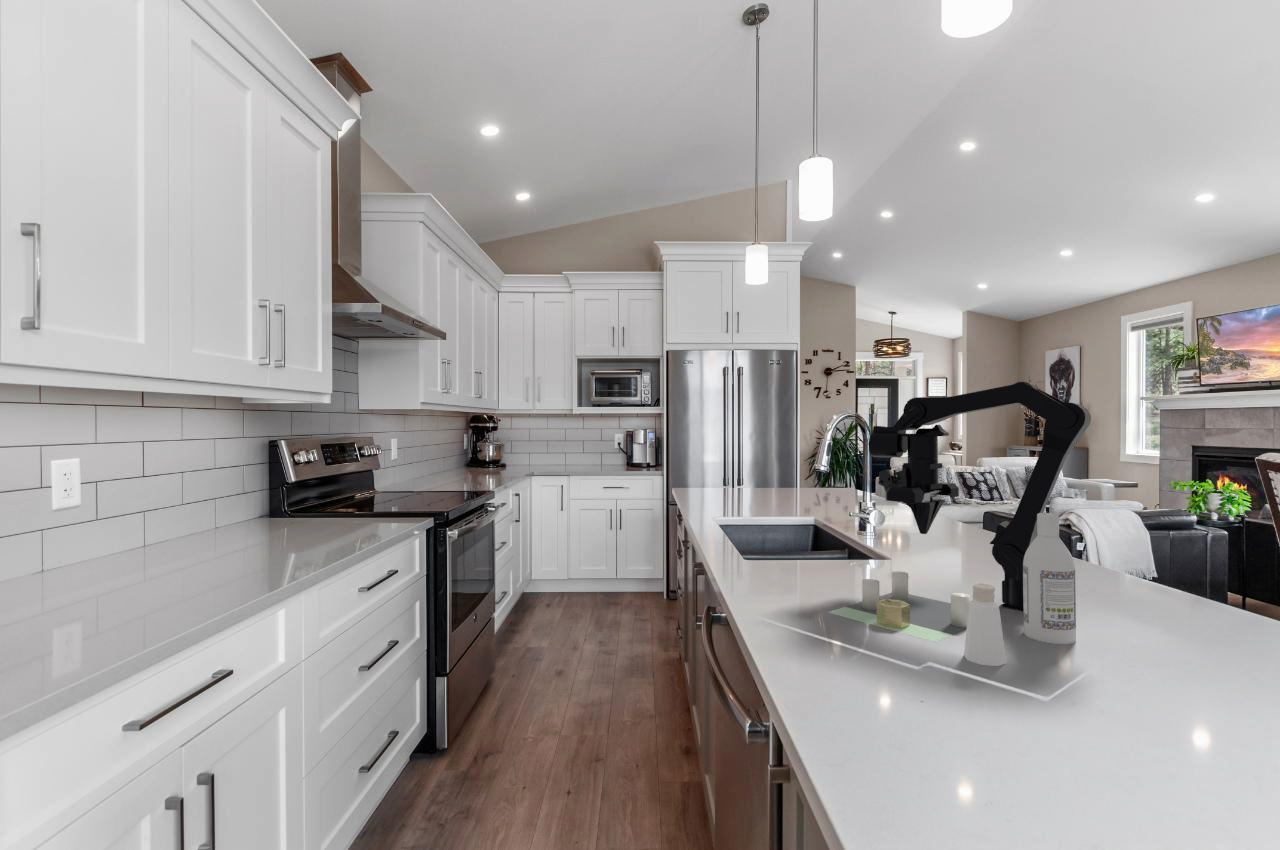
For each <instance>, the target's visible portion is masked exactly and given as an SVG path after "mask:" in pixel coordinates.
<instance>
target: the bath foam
mask: <svg viewBox="0 0 1280 850" xmlns="http://www.w3.org/2000/svg"><path fill="white" fill-rule="evenodd" d="M1037 534H1038V535H1037V537H1036V538H1035V539H1034V541H1033V542H1032V543H1031V544H1030V546H1029V547H1028V549H1027V551H1026V553H1025V556H1024V560H1023V608H1024V611H1023V633H1024V635H1025V636H1026V637H1028V638H1029V639H1032V640H1035V641H1038V642H1042V643H1047V644H1055V645H1071V644H1074V643H1075V642H1076V641H1077V607H1076V606H1077V603H1076V602H1077V601H1076V597H1077V596H1076V565H1075V561H1074V558H1073V556H1072V555H1073V554H1071V552H1070V550H1069V549H1068V547H1067V546H1066V545H1065V543H1064V542H1063V540H1061V539H1062V538H1061V537H1060V514H1057V513H1053V512H1052V513H1050V512H1043V513H1038V514H1037ZM1075 644H1076V643H1075Z"/></svg>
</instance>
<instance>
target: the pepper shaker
mask: <svg viewBox="0 0 1280 850" xmlns="http://www.w3.org/2000/svg"><path fill="white" fill-rule="evenodd" d="M973 590H974V593H973V592H972V595H973V594H974V600H973V599H972V600H971V601H970V603H969V611H968V620H967V629H965V630H966V632H965V640H964V651H963V653H964V654H963V656H964V658H966V660H967V661H968V662H972V663H974V664H978V665H981V666H991V667H993V666H994V667H1000V666H1003V665H1006V664H1007V658H1006V651H1005V643H1004V636H1003V635H1004V634H1003V628H1002V627H1003V626H1002V619H1001V611H1000V607H999V606H1000V605H999V604H997V603H996V602H995V591H996V588H995V587H994V586H993V585H991V584H987V583H975V584H973V585H972V591H973Z"/></svg>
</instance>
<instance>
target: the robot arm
mask: <svg viewBox="0 0 1280 850" xmlns="http://www.w3.org/2000/svg"><path fill="white" fill-rule="evenodd" d="M1014 405H1021V406H1023V407H1025V408H1027V409H1028V410H1029V411H1031V412H1033V414H1035V415H1037V416H1039V417H1041V418H1043V420H1044V421H1045V422H1044V427H1043V432H1042V433H1043V434H1042V447H1041V449H1040V452H1039V455H1038V458H1037V459H1036V463H1035V465H1034V468H1033V470H1032V472H1031V474H1030V476H1029V480H1028V481H1027V484H1026V487H1025V488H1024V492H1023V494H1022V496H1021V499H1020V501H1019V504H1018V506H1017V508H1016V511H1015V513H1014V516H1013V518H1011V520H1010V521H1008V520H1005V521H1003V522H1001V523H1000V522H999V524H997V526H996V529H995V535H994V537H993V539H992V540H991V541H990V542H989V544H990V545H993V546H992V549H991V555H992V556H993V559H994V560H995V562H996V563H997V564H998V565H1000V566H1001V567H1002V570H1003V572H1004V580H1001V602H1002V604H1000V607H1002V608H1005V609H1011V610H1015V611H1021V612H1024V608H1023V560H1024V556H1025V553H1026V551H1027V549H1028V547H1029V546H1030V544H1031V543H1032V542H1033V541H1034V539H1035V538H1036V537H1037V535H1038V534H1037V514H1038V513H1045V512H1044V511H1045V509H1046V507H1047V504H1048V502H1049V499H1050V497H1051V495H1052V493H1053V490H1054V488H1055V485H1056V483H1057V480H1058V479H1059V477H1060V474H1061V471H1062V469H1063V466H1064V464H1065V461H1066V459H1067V458H1068V455H1069V454H1070V452H1071V451H1072V450H1073V448H1075V446H1076V445H1077V443H1078V442H1079V441H1080V439H1081V438H1082V436H1083V435H1084V434H1085V433H1086V431H1087V429H1088V428H1089V426H1090V424H1091V422H1092V421H1091V420H1092V416H1091V413H1090V411H1089V410H1088V409H1087V407H1085V406H1084V405H1082V404H1079V403H1076V402H1069V401H1063V400H1061V399H1059V398H1057V397H1055V396H1053V395H1052V394H1049V393H1047V392H1045V391H1044V390H1041V389H1040V388H1038V387H1037V386H1036V385H1035V384H1033V383H1030V382H1027V381H1018V382H1015V383H1013V384H1009V385H1004V386H998V387H992V388H988V389H983V390H979V391H974V392H973V391H971V392H967V393H962V394H957V395H952V396H925V397H923V396H921V397H919V396H918V397H913V398H910V399H908V400H907V401H906V403H905V405H904V407H903V413H902V415H900V417H899V418H898V420H897V421H896V422H895V424H894V425H893V426H883V425H874V426H872V432H871V434H870V437H869V441H868V450H869V451H868V452H869V454H870V455H871V456H872V457H873V458H902V457H903V455H904V454H906V453H907V462H903V464H902V465H901V467H902V468H901V469H902V470H899V471H895V472H893V471H892V470H891V469H884V470H881V471H879V475H878V485H880V486H882V487H883V489H884V491H885V501H889V502H897V503H898V502H899V503H903V504H905V505H906V506H908V507H909V508H910V510H911V512H912V515H913V517H914V519H915V522H916V526H917V528H918V531H919V534H922V535H927V534H928V532H929V531H930V529H931V526H932V524H933V522H934V520H935V519H936V517H937V514H938V513H939V511H940V510H941V508H942V506H943V504H944V503H946V499H940V498H939V496H948V497H949V498H959V496H960V495H959V494H960V490H959V489H960V488H959V486H957V484H956V483H954V482H941V481H940V482H939V469H943V463H942V462H941V463H940V462H939V452H938V451H939V450H938V449H939V446H938V445H939V443H938V438H939V437H948V436H949V435H950V433H949V432H948V431H947V430H945V429H944V428H943V426H942V425H941V424H938V423H941V422H944V421H946V420H949V419H951V418H954V417H956V416H958V415H962V414H968V413H973V412H975V413H976V412H980V411H986V410H991V409H996V408H997V409H998V408H1003V407H1008V406H1014ZM934 424H935V425H934ZM931 425H934V426H933V427H932V428H931V427H930V428H928V427H927V428H923V427H924V426H931ZM907 431H915V433H907Z"/></svg>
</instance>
